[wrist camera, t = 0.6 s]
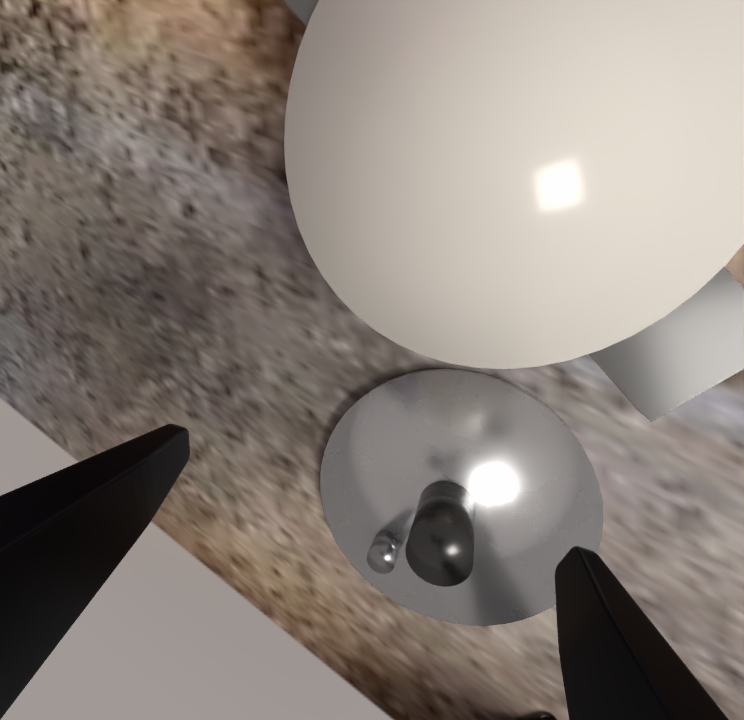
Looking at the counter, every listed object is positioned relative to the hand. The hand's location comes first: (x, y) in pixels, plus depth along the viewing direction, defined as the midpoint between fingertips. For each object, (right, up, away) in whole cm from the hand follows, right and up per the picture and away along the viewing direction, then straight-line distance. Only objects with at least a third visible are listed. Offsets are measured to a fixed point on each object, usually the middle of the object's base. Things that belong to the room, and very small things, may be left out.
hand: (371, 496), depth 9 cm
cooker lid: (+4, -5, +13) cm, 15 cm away
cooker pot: (+6, +11, +9) cm, 15 cm away
